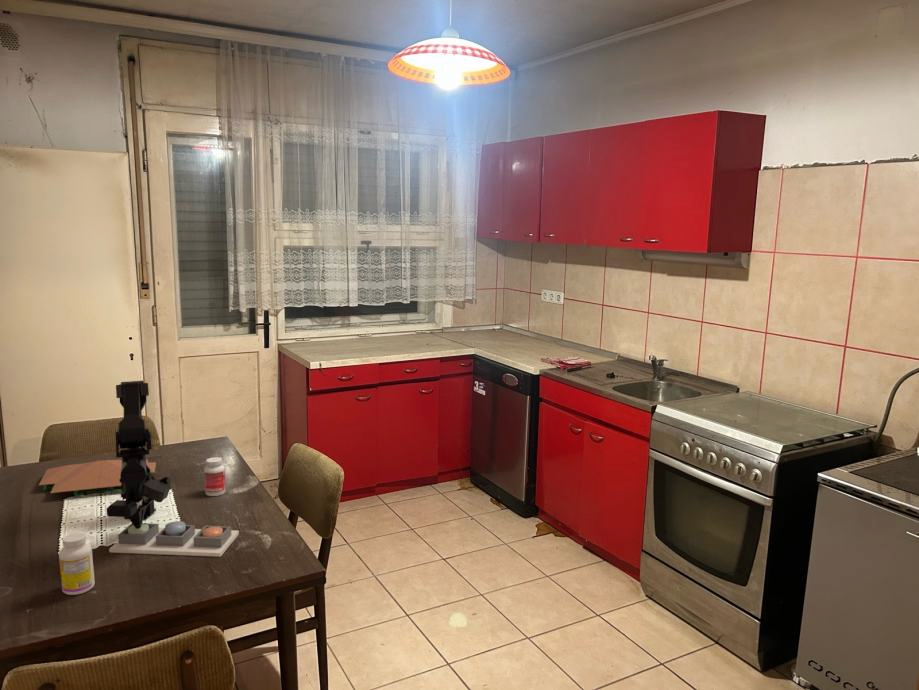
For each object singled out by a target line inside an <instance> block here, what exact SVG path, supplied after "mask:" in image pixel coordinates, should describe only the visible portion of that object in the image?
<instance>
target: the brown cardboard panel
mask: <svg viewBox="0 0 919 690" xmlns="http://www.w3.org/2000/svg"><path fill="white" fill-rule="evenodd" d="M146 464H147V466H148V467H149V468H150V470H151V475H153V473H155V472H156V467H157V462H154V461H152V462H149V459H147V458H146ZM121 466H122V459H106V460H95V461H90V462H86V463H74V464H68V465H67V464H66V465H61V466H57V467H51V468H47V470H46V471H45V473H44V475H43V477H42V479H41V480H40V482H39V484H38V486H42V492H43V493H44V492H45V491H46V493H47V487H48V486H49V485H53V486H51V487H50V486H49V493H50V494H55V493H56V494H57V493H66V492H67V493H68V492H73V493H74V498H77V495H78V493H79V491H85V490H86V491H87V490H89V491H87V494H91V493H92V494H93V490H94V489H95V490H94V491H96V490H97V489H98V491H97V492H98V493H100V492H101V493H102V492H104V494H105V493H106V492H107V495H108V494H109V492H110V495H112V493H114V494H115V493H116V492H115V491H121V488H116V489H115V490H114V488H115V487H121V483H120V478H121V477H120V474H121ZM106 488H109V489H107V490H105V489H106ZM50 489H51V491H50ZM99 489H100V490H101V491H100V490H99ZM102 489H104V490H102ZM91 490H92V492H91ZM113 491H114V492H113ZM77 492H78V493H77ZM82 494H83V493H82V492H80V495H82Z"/></svg>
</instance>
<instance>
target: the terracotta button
mask: <svg viewBox="0 0 919 690" xmlns="http://www.w3.org/2000/svg"><path fill="white" fill-rule="evenodd" d="M222 533H223V529H222V528H221V527H209V528H206V529H204V530H203V537H220V536H221V535H222Z"/></svg>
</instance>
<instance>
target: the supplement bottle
mask: <svg viewBox="0 0 919 690" xmlns="http://www.w3.org/2000/svg"><path fill="white" fill-rule="evenodd" d="M61 541H62V545H63V547H62V548H61V549H60V551H59V552H58V560H59V570H60V571H59V572H60V581H61V590H62V593H64V594H66V595H69V596H76V595H80V594H84V593H87V592H89V591H90V590H91V589H92V588H93V587H94V586H95V583H96V582H95V570H94V569H95V568H94V559H93V549H92V548H93V547H92V546H91V544H90V543H88V542H87V535H86V534H85V533H84V532H73V533H70V534H66V535H65V536H64V537H63V538H62V540H61Z"/></svg>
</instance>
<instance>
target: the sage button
mask: <svg viewBox="0 0 919 690" xmlns="http://www.w3.org/2000/svg"><path fill="white" fill-rule="evenodd" d="M148 530H149V526H148V525H147V524H142V526H141V528H139V529H137V528H135V526H134V525H133V526H131V527H129V528H128V534H145V533H146V532H147V531H148Z"/></svg>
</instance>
